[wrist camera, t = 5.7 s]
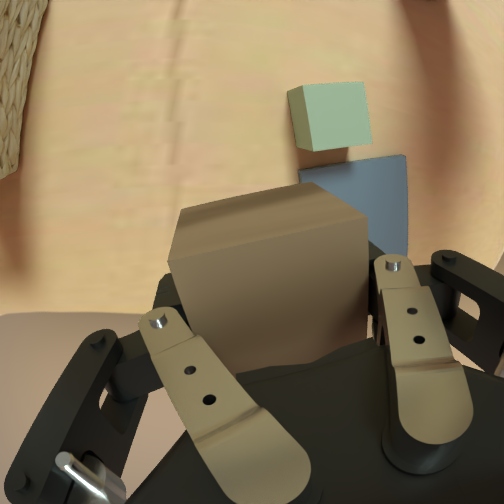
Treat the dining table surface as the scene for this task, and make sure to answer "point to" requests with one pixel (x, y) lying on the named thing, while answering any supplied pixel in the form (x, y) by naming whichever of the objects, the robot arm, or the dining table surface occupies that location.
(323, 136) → the sage green block
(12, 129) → the storage basket
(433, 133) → the dining table surface
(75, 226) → the dining table surface
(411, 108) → the dining table surface
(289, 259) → the walnut block
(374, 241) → the base board
